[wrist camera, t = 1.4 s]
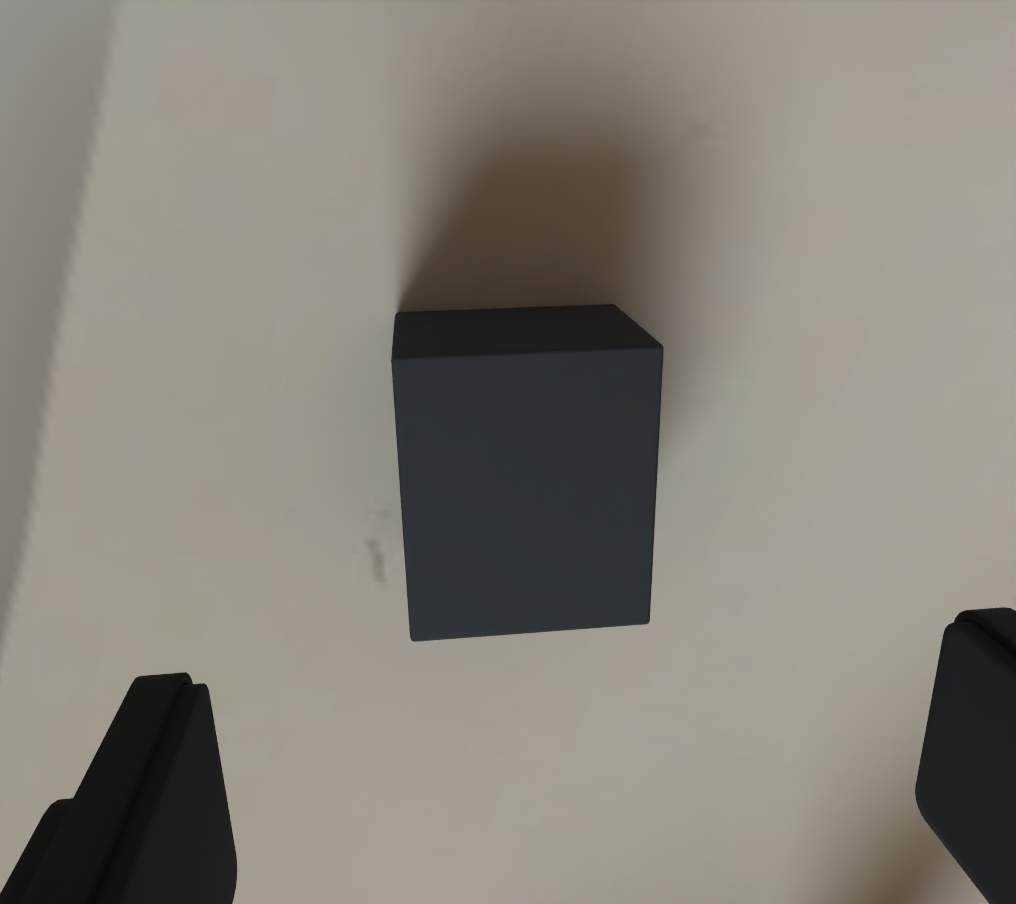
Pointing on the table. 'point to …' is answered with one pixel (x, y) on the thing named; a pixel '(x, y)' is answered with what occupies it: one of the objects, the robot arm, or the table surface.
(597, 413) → the small dark rectangular block
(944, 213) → the table surface
